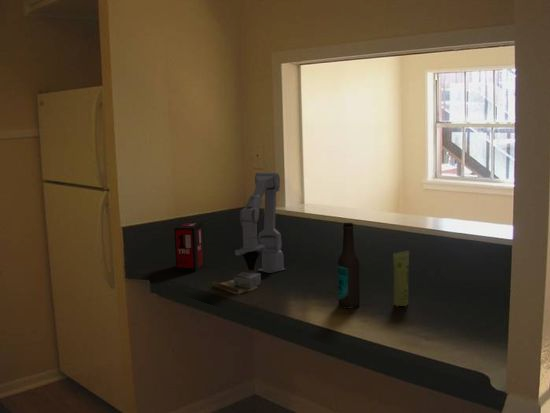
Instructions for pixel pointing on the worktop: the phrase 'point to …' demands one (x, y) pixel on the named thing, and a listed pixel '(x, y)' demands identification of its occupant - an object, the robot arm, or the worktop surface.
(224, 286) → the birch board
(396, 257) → the tube
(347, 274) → the beer bottle
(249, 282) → the medicine box
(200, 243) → the cleaning product box
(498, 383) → the worktop surface
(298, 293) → the worktop surface
